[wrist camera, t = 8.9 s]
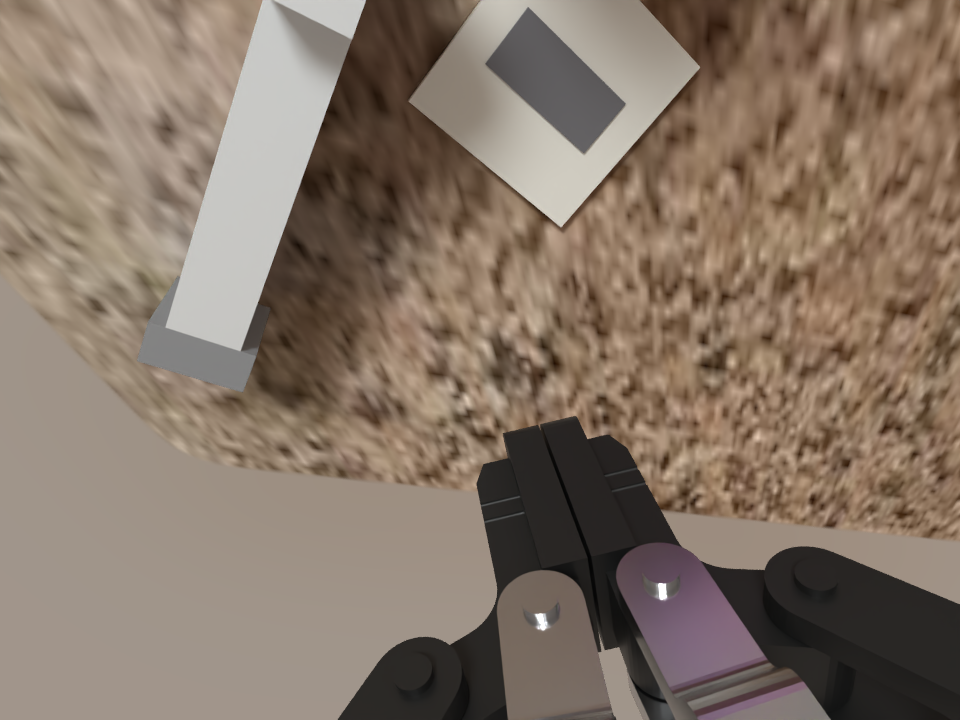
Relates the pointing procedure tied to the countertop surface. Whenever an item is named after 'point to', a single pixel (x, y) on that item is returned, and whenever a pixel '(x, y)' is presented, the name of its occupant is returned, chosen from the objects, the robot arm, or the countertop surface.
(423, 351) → the countertop surface
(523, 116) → the label tile
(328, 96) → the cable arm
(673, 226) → the countertop surface
